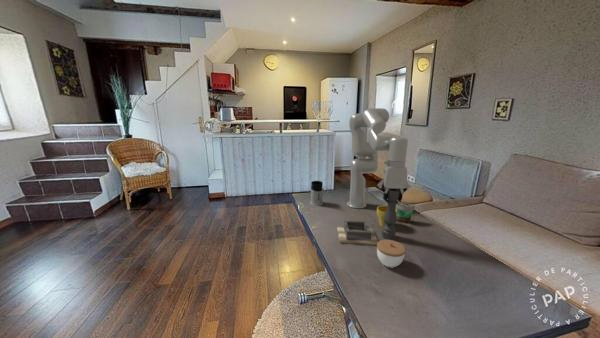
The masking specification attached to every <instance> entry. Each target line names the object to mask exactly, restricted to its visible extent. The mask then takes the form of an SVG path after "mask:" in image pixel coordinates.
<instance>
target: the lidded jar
mask: <svg viewBox="0 0 600 338" xmlns="http://www.w3.org/2000/svg"><path fill="white" fill-rule="evenodd" d="M405 254H406V248H405V246H404V245H403V244H402V243H400V242H398V241H396V240H387V239H381V240H378V243H377V244H376V255H377V258H378V260H379V261H380V262H381V264H382V265H383V266H384V265H385V267H386V268H389V267H390V268H389V269H394V267H395V268H397V267H398V266H400V265H401V264H402V263H403V261H404V259H405Z"/></svg>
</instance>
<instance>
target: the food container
mask: <svg viewBox="0 0 600 338" xmlns="http://www.w3.org/2000/svg"><path fill="white" fill-rule="evenodd" d="M415 209H416V206H415V205H408V204H405V203H398V204H397V205H396V210H397V216H396V217H397V223H402V224H408V223H410V222H411V220H412V218H413V217H412V216H413V214H414V213H413V212H414V210H415Z"/></svg>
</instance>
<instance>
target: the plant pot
mask: <svg viewBox="0 0 600 338" xmlns="http://www.w3.org/2000/svg"><path fill="white" fill-rule="evenodd" d="M386 211H387V205H379V206H377V207H376V215H377V217H378V218H377V219H378V225H379V226H380V227H381V228H383V227H384V226H385V222H384V216H385V213H386ZM396 216H397V210H396Z"/></svg>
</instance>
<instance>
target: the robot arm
mask: <svg viewBox="0 0 600 338" xmlns="http://www.w3.org/2000/svg"><path fill="white" fill-rule="evenodd" d="M389 119H390V113H389V111H388V110H387V109H385V108H383V107H382V108H373V107H371V108H367V109H365V110H364V111H363V112H362V113H354V114H352V115H351V116H350V118H349V121H348V123H349V130H350V133H351V153H352V155H353V156H354V157H357V158H355V159H352V160H351V161H350V163H349V168H350V169H349V170H350V184H349V185H350V186H349V187H350V188H349V200H348V201H347V202H346V204H347V206H348V207H350V208H352V209H364V208H366V207H367V203H366V202H365V195H366V178H365V176H364V175H363V174H374V173H377V171H378V168H379V167H378V166H379V165H378V163H379V155H378V153H379V152H385V151H386V152H387V151H388V155H387V160H386V161H385V160H384V165H386V166H385V168H384V171H383V175H382V180H380V181H379V182H378V183H377V185H376V186H377V187H378V188H379V189H380V190H381V191H382V192H383V197H382V198H383V200H384V202H386V201H387V200H388V193H387V192H388V190H389V189H399V190H400V193H399V197H398V199H397V202H398V203H401V202H402V200H403V195H404V194H405V192H406V191H408V190H409V189H410V188H411V187H412V186H411V184H409V182H408V170H407V169H408V168H407V167H406V159H407V150H408V141H409V139H408V138H407V137H402V136H399V135H396V134H390V135H389V134H386V135H385V134H382V132H384V131H385V129H386V128H387V127H386V126H387V123H388V121H389ZM362 128H368V131H367V133H365V132H364V129H362ZM380 134H381V135H380ZM366 138H367V141H366ZM358 157H359V158H358ZM362 157H363V158H362ZM364 157H365V158H364Z"/></svg>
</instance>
